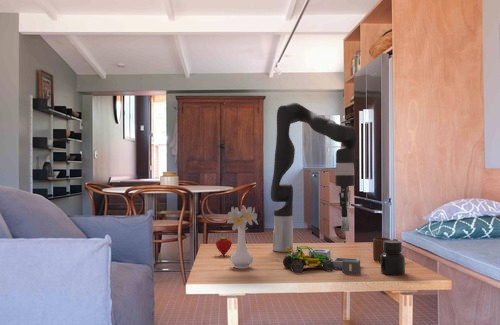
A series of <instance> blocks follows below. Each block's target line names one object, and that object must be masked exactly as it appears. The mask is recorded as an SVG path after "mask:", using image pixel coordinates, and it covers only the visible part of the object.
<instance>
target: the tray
mask: <svg viewBox="0 0 500 325" xmlns="http://www.w3.org/2000/svg"><path fill="white" fill-rule="evenodd" d="M344 260H356V261H360V262H361V259H360V258H356V257H354V258H352V257H351V258H350V257H338V256H337V257H334V258H333V259H332V260H331V262H332V263H333V269H335V270H343V264H342V262H343V261H344ZM333 269H332V270H333Z"/></svg>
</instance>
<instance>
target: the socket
mask: <svg viewBox="0 0 500 325" xmlns="http://www.w3.org/2000/svg"><path fill="white" fill-rule="evenodd" d="M312 249H313V250H314V251H315V252H316V254H317V255H321V254H322V255H323V254H324V256H329V259H330V260H331V249H326V248H325V249H324V248H323V249H322V248H312ZM310 251H311V252H310ZM310 251H309V250H308V256H312V254H315V253H314V252H313V251H312V250H311V249H310ZM311 253H312V254H311ZM317 255H314V256H317ZM319 257H321V256H319ZM325 258H326V257H325ZM322 259H323V258H322Z"/></svg>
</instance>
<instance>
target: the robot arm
mask: <svg viewBox="0 0 500 325" xmlns="http://www.w3.org/2000/svg"><path fill="white" fill-rule="evenodd" d="M297 122H301V123H306V124H308V126H309V127H310V128H311V129H312V130H313V131H314V132H316V133H318V134H320V135H322V136H326V137H327V138H328V139H330V140H332V141H334V142H337V143H341V146H340V148H338V149H337V150H336V152H335V172H334V173H335V176H334V177H335V178H334V179H335V186H336V187H340V190H339V192H338V193H339V194H338V196H339V206H340V209H341V208H342V217H347V207H348V206H347V204H348V202H349V206H350V205H351V190H350V187H354V186H355V164H354V152H355V148H356V144H357V138H358V135H357V131H356V129H355V127H353V126H351V125H343V124H340V123H337V122H336V121H334V120H332V119H330V118H327V117H324V116H321V115H319V114H317V113H315V112H313V111H312V110H310V109H308V108H307V107H305V106H303V105H302V104H300V103H297V102H288V103H285V104H281V105H280V106H278V108H277V111H276V139H275V140H276V142H275V150H274V160H273V161H274V163H273V166H274V167H273V176H272V180H271V186H270V199H271V201H272V202H274V203H282V202H283V203H284V204H283V205H282V206H281V207H278V208H276V209H274V211H273V231H272V251H275V252H278V253H279V252H281V253H283V252H284V253H287V252H292V250H293V249H294V244H293V243H294V237H293V236H294V234H293V233H294V232H293V226H294V223H293V218H294V217H293V214H294V212H293V210H294V209H293V208H294V207H293V206H294V205H293V204H294V203H293V202H294V187H293V185H292V183H288V182H287V183H286V182H285V183H284V182H283V183H282V182H281V180H282V178H283V177H284V175H285V174H286V173H287V172H288V171H289V169H290V168H291V167H292V165H293V164H294V160H295V155H296V153H295V152H296V148H295V145H294V143H293V140H292V139H291V138H290V128H291V124H294V123H297ZM346 199H347V200H346ZM343 202H345V204H344V203H343ZM289 246H291V247H292V249H291V250H289V251H286V249H287V248H288V247H289ZM285 251H286V252H285ZM293 251H294V250H293Z"/></svg>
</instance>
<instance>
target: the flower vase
mask: <svg viewBox="0 0 500 325" xmlns="http://www.w3.org/2000/svg"><path fill="white" fill-rule="evenodd" d="M241 206H242V208H241V209H240V211H239V207H234V206H231V209H230V211H228V212H227V215H226V218H228V219H227V220H226V222H227V224H233V225H232V227H231V228H232V231H236V230H237V243H236V244H237V245H236V248H235V250H234V252H232V254H231V256H230V262H231V264H232V265H233V267H234V269H241V270H242V269H243V270H244V269H248V268H249V267H250V265H251V264H252V263H253V261H254V257H253V255H252V253H251V252H250V251H249V250H248V247H247V242H246V226H247V224H249V225H250V226H253V222H254V223H255V225H259V223H258V220H257V218H258V214H257V212H255V209H256V208H255V207H252V206H248V207H246V206H245V205H244V204H243V205H241Z"/></svg>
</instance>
